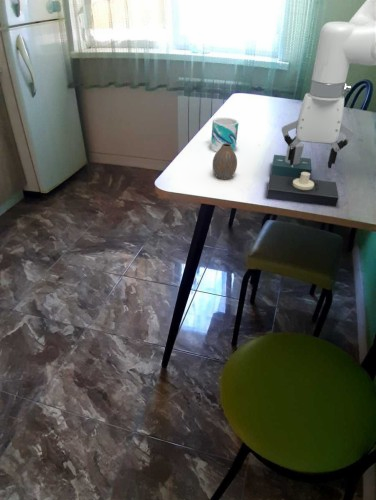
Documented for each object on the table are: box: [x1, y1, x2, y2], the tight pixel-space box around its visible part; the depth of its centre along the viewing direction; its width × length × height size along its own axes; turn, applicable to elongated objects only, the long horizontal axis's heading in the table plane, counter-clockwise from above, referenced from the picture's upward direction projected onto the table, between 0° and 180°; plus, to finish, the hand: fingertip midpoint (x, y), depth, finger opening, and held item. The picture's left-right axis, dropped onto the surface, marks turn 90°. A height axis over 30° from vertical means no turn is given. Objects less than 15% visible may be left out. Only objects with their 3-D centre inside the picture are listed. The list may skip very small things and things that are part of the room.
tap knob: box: [285, 141, 305, 165], centre depth 119 cm, size 4×4×5 cm
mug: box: [210, 116, 239, 153], centre depth 134 cm, size 8×12×8 cm
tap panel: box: [270, 154, 313, 179], centre depth 121 cm, size 11×9×3 cm
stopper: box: [293, 172, 314, 190], centre depth 109 cm, size 6×6×5 cm
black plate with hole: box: [266, 174, 339, 207], centre depth 111 cm, size 18×10×2 cm, turn 79°
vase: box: [212, 143, 238, 180], centre depth 115 cm, size 7×7×9 cm
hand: (310, 164), depth 106 cm, fingers open, 9 cm apart
